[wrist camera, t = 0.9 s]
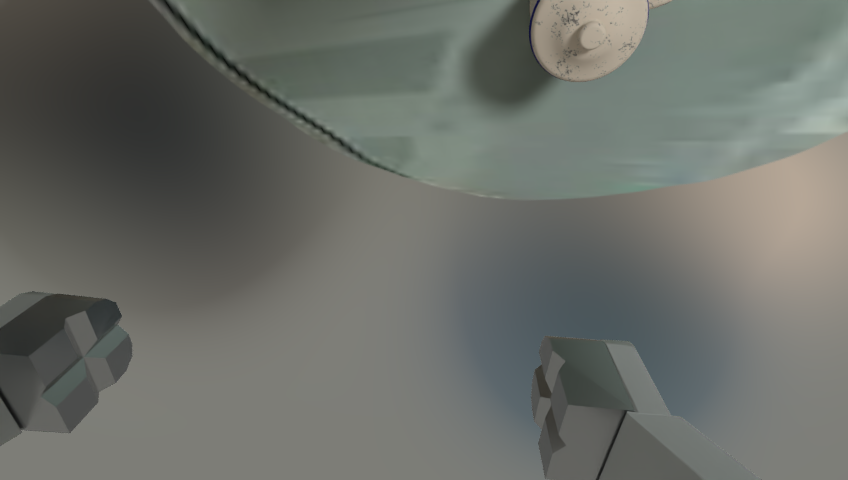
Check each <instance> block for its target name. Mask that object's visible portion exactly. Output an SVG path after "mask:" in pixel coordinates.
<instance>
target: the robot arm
mask: <svg viewBox="0 0 848 480" xmlns="http://www.w3.org/2000/svg"><path fill="white" fill-rule="evenodd" d="M121 317H122V315H121V313H120V311H119V308H118V306H117V304H116V302H113V301H111V300H108V299H102V298H93V297H85V296H75V295H66V294H52V293H43V292H34V291H32V292H27V293H21V294H19V295H17V296H16V297H14V298H12V299H11V300H9V301H8V302H6V303H5V304H3V305H2V306H0V446H1V445H3V444H4V443H6V442H8V441H9V440H11V439H13V438H14V437H16V436H17V435H19V434H21V433H22V431H21V430H28V431H43V432H58V433H71V431H72V430H73V429H74V428H75V427H76V426H77V425H78V424H79V423H80V422H81V420H82V419H83V418H84V417H85V416H86V415H87V414H88V413H89V412H90V411H91V410H92V408H93V407H94V406H95V405H96V404H97V403H98V398H99V392H100V391H101V390H103V389H105V388H107V387H109V386H111V385H113V384H115V383H116V382H117V381H118V380H119V379H120V377H121V376H122V375H123V374H124V373H125V372H126V370H127V368H128V365H129V362H130V360H131V358H132V342H131V339H130V337H129V334H128V333H127V332H125V331H124V330H123V329H122V328H121V327H120V326H119V325H118V323H119V321H120V319H121ZM539 354H540V358H541V363H542V365H540V366H539V367H538V368H536V369H535V371H534V376H533V381H532V392H531V393H532V394H531V401H532V411H533V416H534V422H535V423H536V424H537V425H538V426H539V427H540V428H541V429H542V431H541V435H540V439H539V443H538V444H539V450H540V454H541V460H542V464H543V470H544V475H545V479H550V480H762V479H760V478H759V477H758V476H756V475H755V474H754V473H752V472H751V471H750V470H748V469H747V468H746V467H745V466H743V465H742V464H741V463H740V462H738V461H737V460H736V459H735V458H733V457H732V456H731V455H729V454H728V453H727V452H725V451H724V450H723V449H722V448H720V447H719V446H717V445H716V444H715V443H714V442H713V441H711V440H710V439H709V438H707V437H706V436H705V435H704V434H702V433H701V432H699V431H698V430H697V429H696V428H695V427H693V426H692V425H691V424H689V423H688V422H687V421H686V420H684V419H683V418H682V417H679V416H671V414H670V412H669V411H668V409H667V407H666V405H665V403H664V401H663V400H662V397H661V396H660V394H659V392H658V390H657V388H656V386H655V384H654V382H653V381H652V379H651V377H650V375H649V373H648V371H647V369H646V367H645V366H644V364H643V362H642V360H641V358H640V356H639V354H638V353H637V351H636V349H635V347H634V345H633V344H631V343H630V342H629V341H615V340H614V341H613V340H591V339H579V338H566V337H553V336H545V337H544V338H543V340H542V342H541V346H540V350H539Z"/></svg>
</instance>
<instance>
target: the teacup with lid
mask: <svg viewBox="0 0 848 480" xmlns="http://www.w3.org/2000/svg"><path fill="white" fill-rule="evenodd" d="M671 1H672V0H530V7H529V8H530V26H529V39H530V45H531V49H532V52H533V54H534V56H535V58H536V60H537V62H538V63H539V64H540V66H541V67H542V68H543V69H544V70H545V71H547V72H548V73H549V74H551V75H552V76H554V77H556V78H559V79H562V80H565V81H571V82H585V81H591V80H595V79H598V78H600V77H603V76H605V75H607V74H609V73H611V72H612V71H614V70H615V69H617V68H618V67H619V66H621V65H622V64H623V63H624V62H625V61H626V60H627V59H628V58H629V57H630V56H631V55H632V53H633V52H634V51H635V49H636V48H637V46H638V45H639V43H640V41H641V39H642V37H643V34H644V32H645V29H646V26H647V21H648V15H649V9H653V8H656V7H659V6H662V5H664V4H667V3H669V2H671Z"/></svg>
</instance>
